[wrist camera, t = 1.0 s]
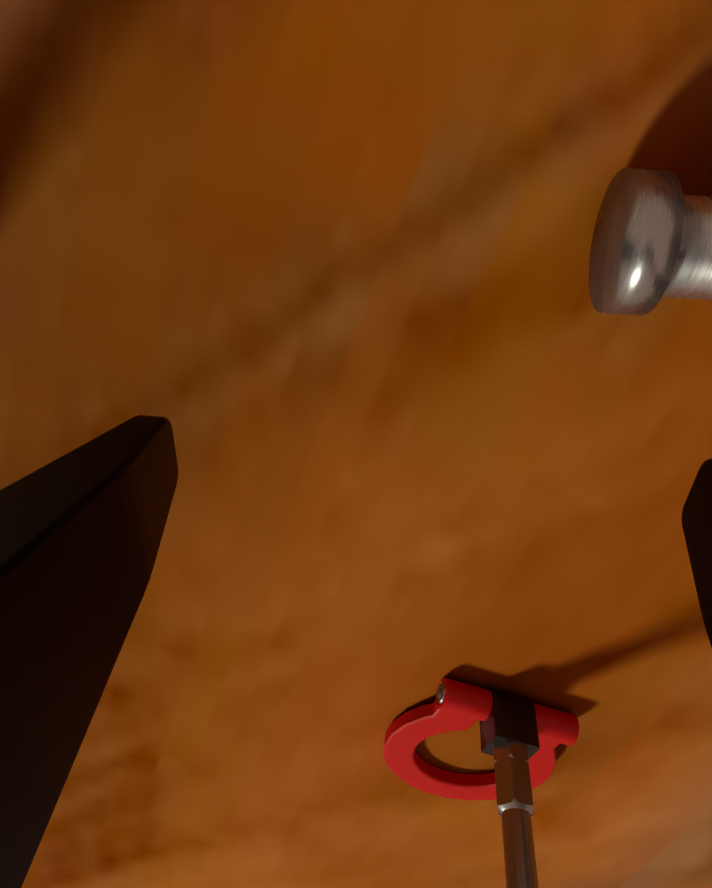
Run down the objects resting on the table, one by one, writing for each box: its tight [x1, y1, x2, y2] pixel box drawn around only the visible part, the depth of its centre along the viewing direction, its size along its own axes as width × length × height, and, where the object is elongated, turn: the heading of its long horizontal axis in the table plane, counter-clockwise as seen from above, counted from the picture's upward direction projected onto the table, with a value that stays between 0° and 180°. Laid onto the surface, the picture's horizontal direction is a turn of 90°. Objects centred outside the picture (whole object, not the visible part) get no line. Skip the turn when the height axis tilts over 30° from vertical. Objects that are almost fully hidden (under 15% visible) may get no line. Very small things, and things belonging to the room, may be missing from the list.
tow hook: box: [384, 677, 579, 888], centre depth 29 cm, size 8×13×9 cm
